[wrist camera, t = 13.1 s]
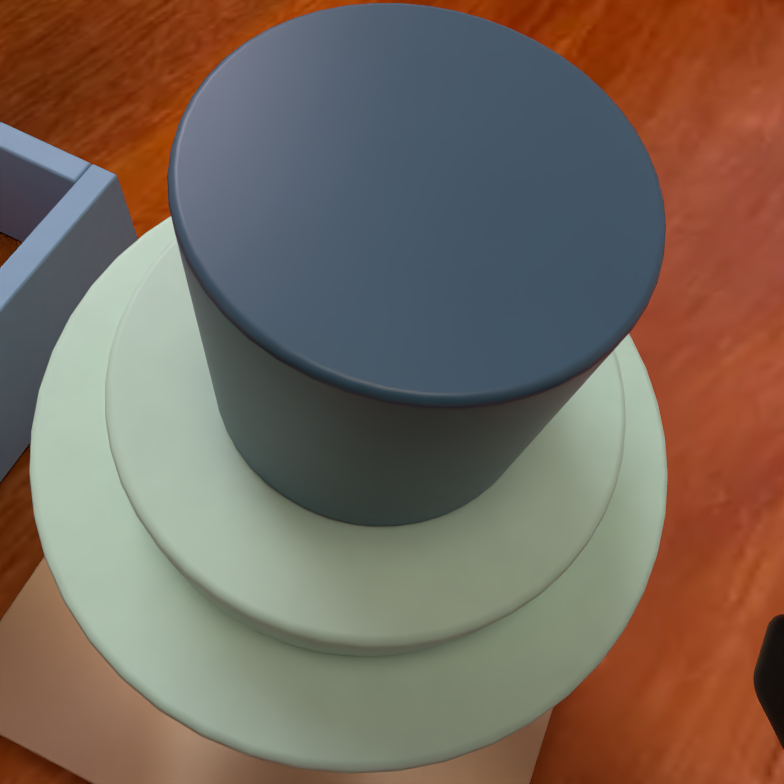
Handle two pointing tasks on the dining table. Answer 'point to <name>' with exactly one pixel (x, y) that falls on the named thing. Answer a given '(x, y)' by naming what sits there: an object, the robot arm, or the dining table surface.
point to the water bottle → (366, 398)
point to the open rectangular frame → (47, 264)
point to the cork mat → (163, 717)
